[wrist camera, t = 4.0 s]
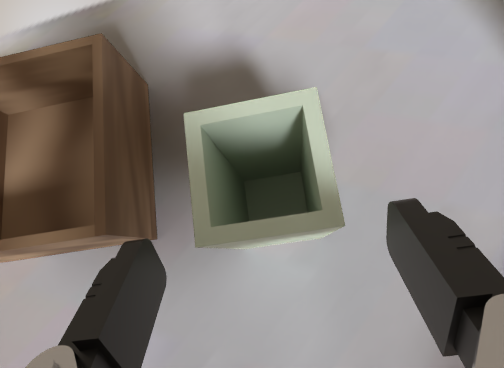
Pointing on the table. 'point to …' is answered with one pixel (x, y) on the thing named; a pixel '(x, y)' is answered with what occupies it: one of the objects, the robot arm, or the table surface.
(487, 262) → the robot arm
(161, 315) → the table surface
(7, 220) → the walnut crate
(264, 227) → the green square vase
